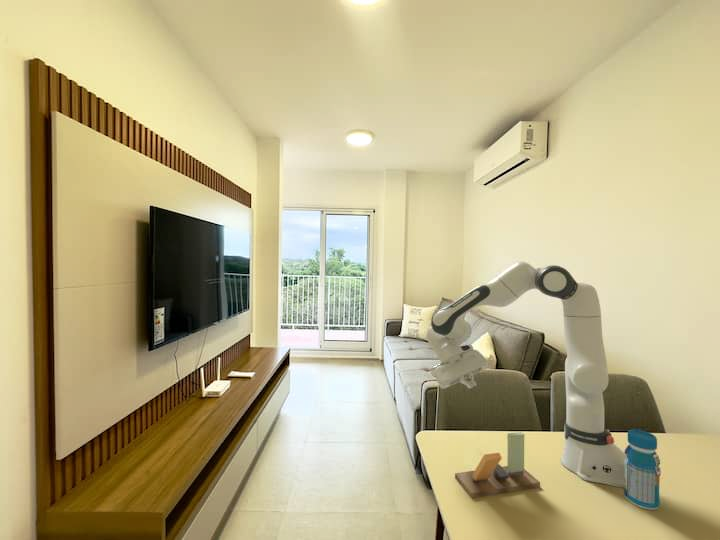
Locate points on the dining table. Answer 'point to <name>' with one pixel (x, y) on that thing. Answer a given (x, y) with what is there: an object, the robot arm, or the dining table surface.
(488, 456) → the orange paddle lever
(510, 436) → the sage paddle lever
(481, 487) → the walnut switch board
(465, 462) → the dining table surface
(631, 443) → the beverage bottle
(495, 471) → the dark gray rocker switch
